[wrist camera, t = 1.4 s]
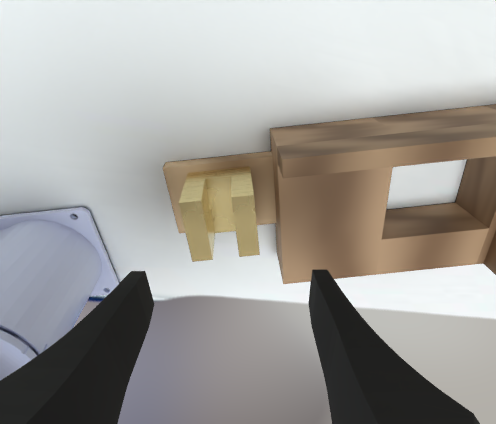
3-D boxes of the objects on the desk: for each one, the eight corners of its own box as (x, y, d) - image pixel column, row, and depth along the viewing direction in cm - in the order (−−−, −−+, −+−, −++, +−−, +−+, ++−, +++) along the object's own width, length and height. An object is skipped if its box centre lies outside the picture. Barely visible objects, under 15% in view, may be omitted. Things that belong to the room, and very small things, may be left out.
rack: (189, 262, 25) (180, 317, 20) (160, 140, 20) (137, 174, 15) (464, 233, 24) (520, 282, 20) (506, 103, 19) (595, 126, 15)
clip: (198, 225, 22) (192, 261, 18) (187, 172, 20) (178, 202, 16) (255, 219, 22) (259, 254, 18) (250, 166, 20) (253, 194, 16)
